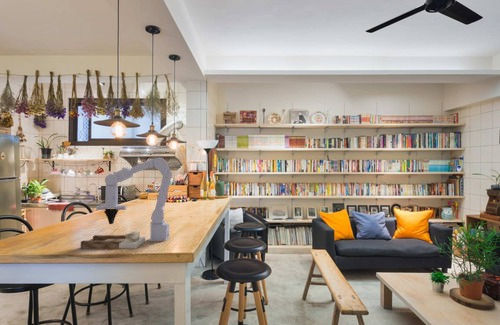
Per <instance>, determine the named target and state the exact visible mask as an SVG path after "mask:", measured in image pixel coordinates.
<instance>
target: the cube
mask: <svg viewBox="0 0 500 325" xmlns="http://www.w3.org/2000/svg"><path fill="white" fill-rule="evenodd" d="M125 235H126V238H125V242H136V241H138V240H139V238H140V231H128V232H126V233H125Z"/></svg>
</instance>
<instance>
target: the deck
mask: <svg viewBox="0 0 500 325" xmlns="http://www.w3.org/2000/svg"><path fill="white" fill-rule="evenodd" d="M125 238H126V234H104V235H103V234H100V235H99V234H97V235H96V234H95V235H92V238H90V239H89V240H81V241H80V249H137V248H139V247H140V246H141V245H142V244H144V243H145V242H146V237H145V236H144V237H140V238H139V240H138V241H136V242H125Z"/></svg>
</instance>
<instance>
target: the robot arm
mask: <svg viewBox="0 0 500 325" xmlns="http://www.w3.org/2000/svg"><path fill="white" fill-rule="evenodd" d="M150 168H151V169H156V170H157V171H159V173H160V174H161V176H162V178H161V183H160V188H159V191H158V195H157V200H156V204H155V209H154V210H153V211H152V213H151V216H150V219H151V221H150V238H149V239H147V241H148V242H166V241H167V240H168V239H169V238H170V223H169V222H165V220H164V218H165V215H164V214H165V213H164V211H165V205H166V201H167V197H168V193H169V189H170V184H171V180H172V175H173V173H172V171H171V168H170V166H169V164H168V162H167V161H166V159H164V158H163V157H156V158H153V159H148V160H146V161H144V162H141V163H139V164H137V165H136V166H133V167H132V168H131V167H122V168H121V169H120V170H118V171H113V172H112V173H110V174H108V175H106V176H105V178H104V182H105V197H104V198H105V204H104V205H97V206H96V207H95V208H96V210H97V211H99V210H100V211H101V210H102V211H104V214H105V216H106V217H107V221H108V224H109V225H113V224H114V222H115V218H116V216H117V214H118V212H119V211H120V210H121V211H125V210H127V205H119V204H118V200H119V199H118V198H119V196H118V195H119V193H118V192H119V189H118V185H119V184H118V183H122V182H125V181H127V180H129V179H131V178H133V177H134V176H133V175H134V174H136V173H139V172H141V171H144V170H146V169H150Z"/></svg>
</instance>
